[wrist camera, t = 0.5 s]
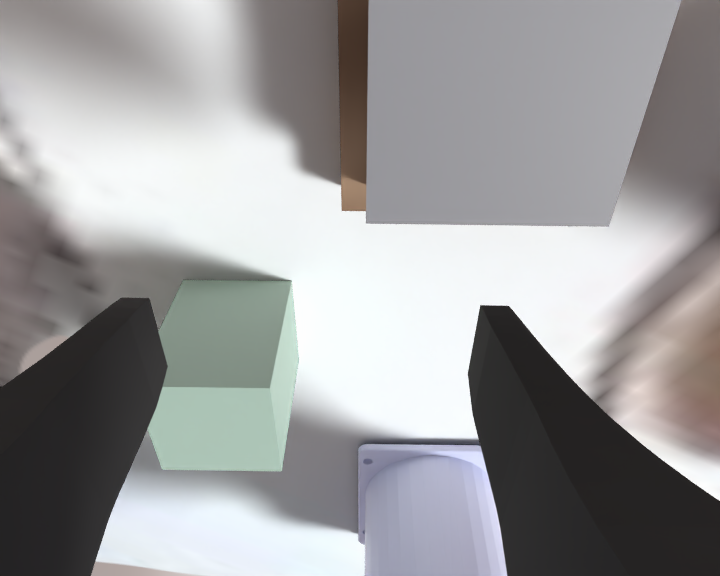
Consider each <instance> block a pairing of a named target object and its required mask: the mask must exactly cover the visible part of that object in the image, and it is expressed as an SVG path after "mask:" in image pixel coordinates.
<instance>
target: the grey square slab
mask: <svg viewBox="0 0 720 576" xmlns="http://www.w3.org/2000/svg"><path fill="white" fill-rule="evenodd" d="M681 1H682V0H369V11H368V95H367V179H366V223H371V224H451V225H530V226H609V224H610V221H611V218H612V214H613V211H614V208H615V205H616V202H617V199H618V196H619V193H620V190H621V187H622V183H623V180H624V177H625V174H626V171H627V168H628V165H629V162H630V159H631V156H632V152H633V149H634V146H635V143H636V140H637V137H638V134H639V131H640V128H641V125H642V121H643V118H644V115H645V112H646V109H647V106H648V103H649V100H650V97H651V94H652V90H653V87H654V84H655V81H656V78H657V75H658V72H659V69H660V66H661V63H662V59H663V56H664V53H665V50H666V47H667V44H668V41H669V38H670V35H671V32H672V28H673V25H674V22H675V19H676V16H677V13H678V10H679V7H680V4H681Z"/></svg>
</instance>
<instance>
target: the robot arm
mask: <svg viewBox="0 0 720 576" xmlns="http://www.w3.org/2000/svg"><path fill="white" fill-rule="evenodd" d="M167 368H168V365H167V361H166V358H165V354H164V350H163V347H162V343H161V340H160V336H159V332H158V329H157V325H156V321H155V318H154V314H153V310H152V307H151V303H150V299H149V298H120V299H119V300H118V301H116V302H115V303H113V304H112V305H111V306H109V307H108V308H107V309H105V310H104V311H103V312H102V313H100V314H99V315H98V316H96V317H95V318H94V319H93V320H91V321H90V322H89V323H87V324H86V325H85V326H84V327H82V328H81V329H80V330H79V331H77V332H76V333H75V334H73V335H72V336H71V337H70V338H68V339H67V340H66V341H64V342H63V343H62V344H61V345H59V346H58V347H57V348H55V349H54V350H53V351H51V352H50V353H49V354H47V355H46V356H45V357H44V358H42V359H41V360H39V361H38V362H37V363H35V364H34V365H32V366H31V367H29V368H28V369H27V370H25V371H24V372H22V373H21V374H20V375H18V376H17V377H15V378H14V379H13V380H11V381H10V382H8V383H7V384H6V385H4V386H3V387H1V388H0V576H91V573H92V570H93V566H94V563H95V560H96V557H97V554H98V551H99V548H100V544H101V541H102V538H103V535H104V532H105V529H106V526H107V523H108V520H109V517H110V514H111V512H112V509H113V507H114V504H115V502H116V499H117V497H118V494H119V492H120V490H121V488H122V485H123V483H124V481H125V479H126V476H127V474H128V472H129V470H130V467H131V465H132V463H133V460H134V458H135V456H136V454H137V451H138V449H139V447H140V445H141V442H142V440H143V438H144V435H145V433H146V431H147V429H148V426H149V424H150V422H151V419H152V417H153V414H154V412H155V410H156V407H157V404H158V401H159V397H160V394H161V390H162V387H163V383H164V379H165V376H166V372H167ZM468 378H469V387H470V396H471V404H472V411H473V417H474V421H475V426H476V430H477V434H478V438H479V442H480V445H409V444H364V445H362V446H360V447H359V449H358V540H359V542H360V543H361V544H364V545H365V576H720V501H719V500H717V499H716V498H714V497H713V496H711V495H710V494H708V493H707V492H706V491H704V490H703V489H701V488H700V487H698V486H697V485H695V484H694V483H692V482H691V481H690V480H688V479H687V478H686V477H684V476H683V475H682V474H680V473H679V472H677V471H676V470H675V469H673V468H672V467H671V466H669V465H668V464H667V463H665V462H664V461H663V460H661V459H660V458H659V457H657V456H656V455H655V454H654V453H652V452H651V451H650V450H648V449H647V448H646V447H645V446H643V445H642V444H641V443H640V442H639V441H637V440H636V439H635V438H634V437H633V436H632V435H630V434H629V433H628V432H627V431H626V430H625V429H623V428H622V427H621V426H620V425H619V424H617V423H616V422H615V421H614V420H613V419H612V418H611V417H610V416H608V415H607V414H606V413H605V412H604V411H603V410H602V409H601V408H600V407H599V406H598V405H597V404H596V403H595V402H594V401H593V400H592V399H591V398H590V397H589V396H588V395H587V394H586V393H585V392H584V391H583V390H582V389H581V388H580V387H579V386H578V385H577V384H576V383H575V382H574V381H573V380H572V379H571V378H570V377H569V376H568V375H567V374H566V372H565V371H564V370H563V369H562V368H561V367H560V366H559V365H558V364H557V362H556V361H555V360H554V359H553V358H552V357H551V356H550V355H549V353H548V352H547V351H546V350H545V349H544V348H543V346H542V345H541V344H540V343H539V342H538V341H537V339H536V338H535V337H534V336H533V335H532V333H531V332H530V331H529V330H528V328H527V327H526V326H525V325H524V324H523V322H522V321H521V320H520V319H519V317H518V316H517V315H516V314H515V313H514V311H513V310H512V309H511V308H510V307H509V306H485V305H480V310H479V316H478V321H477V327H476V332H475V338H474V343H473V349H472V354H471V359H470V365H469V370H468Z"/></svg>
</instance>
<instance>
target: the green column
mask: <svg viewBox="0 0 720 576" xmlns="http://www.w3.org/2000/svg"><path fill="white" fill-rule="evenodd" d="M158 332H159V336H160V340H161V343H162V347H163V350H164V354H165V358H166V361H167V365H168V368H167V372H166V376H165V379H164V383H163V387H162V390H161V394H160V397H159V401H158V404H157V407H156V410H155V412H154V414H153V417H152V419H151V422H150V424H149V426H148V432H149V435H150V438H151V440H152V443H153V446H154V449H155V451H156V454H157V457H158V460H159V462H160V465H161V468H162V470H212V471H281V472H282V467H283V460H284V454H285V447H286V441H287V434H288V428H289V421H290V415H291V408H292V401H293V395H294V388H295V382H296V375H297V369H298V362H299V355H298V344H297V334H296V323H295V312H294V301H293V291H292V281H260V280H183V281H182V284H181V286H180V288H179V290H178V292H177V294H176V296H175V298H174V300H173V302H172V304H171V306H170V309H169V311H168V313H167V315H166V317H165V319H164V321H163V323H162V325H161V327H160V329H159V331H158Z"/></svg>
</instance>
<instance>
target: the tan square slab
mask: <svg viewBox="0 0 720 576" xmlns="http://www.w3.org/2000/svg"><path fill="white" fill-rule="evenodd" d="M368 11H369V0H338V44H339V96H340V147H341V198H342V211H366V179H367V95H368Z"/></svg>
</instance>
